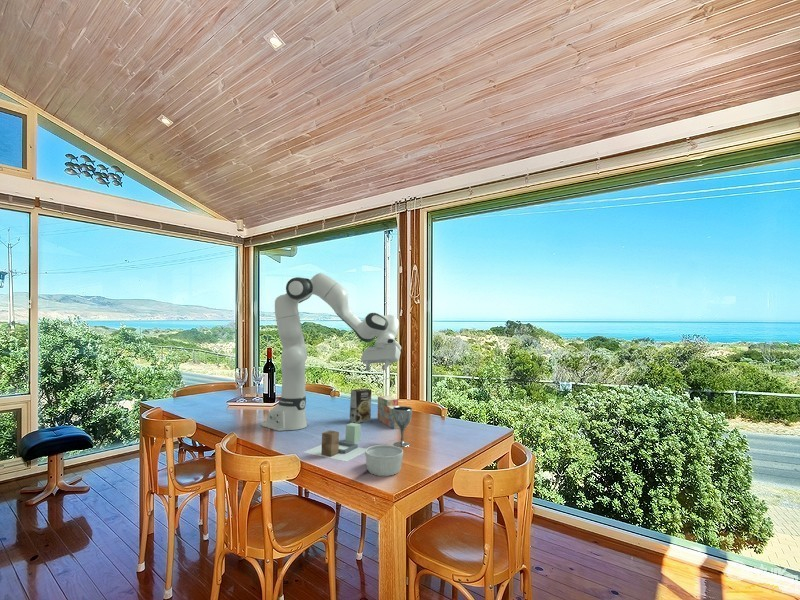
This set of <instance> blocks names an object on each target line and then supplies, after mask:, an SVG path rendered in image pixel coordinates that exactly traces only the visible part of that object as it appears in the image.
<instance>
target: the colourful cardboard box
mask: <svg viewBox="0 0 800 600" xmlns="http://www.w3.org/2000/svg"><path fill="white" fill-rule="evenodd" d="M398 406H399V399H398V398H396V397H393V396H391V395H378V396H377V420H378V419H379V420H378V421H380V422H381V421H382V422H381V423H383V422H384V423H383V424H385V425H387V426H388V425H389V427H390V428H392V429H395V430H397V429H396V428H398V429H400V428H399V427H398V425H397V424H396V423H395V421H394V416H393V408H394V407H398Z"/></svg>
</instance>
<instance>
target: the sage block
mask: <svg viewBox="0 0 800 600" xmlns="http://www.w3.org/2000/svg"><path fill="white" fill-rule="evenodd" d="M361 424H362V423H353V422H350V423H348V424H346V425H345V439H344V442H348V443H354V444H357V443H359V442H361V435H362V433H361V432H362V431H361V429H362V428H361V427H362V426H361Z"/></svg>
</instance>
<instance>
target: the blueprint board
mask: <svg viewBox="0 0 800 600" xmlns="http://www.w3.org/2000/svg"><path fill="white" fill-rule="evenodd" d="M366 449H367V448H365V447H364V448H363V447H360V446H358V444H357V443H350V442H345V441H342V440H341V441H340V440H339V450H338V454H336V455H334V456H332V457H329V456H325V455H321V451H322V444H320V445H317V446H315V447H313V448H312V447H311V448H310V449H307V450H305V451H302V453H305V454H308V455H313V456H318V457H323V458H328V459H332V460H337V461H341V462H342V461H343V462H349V461H351V460H353V459H355V458H357V457H359V456H361V455H362V454H365V450H366Z"/></svg>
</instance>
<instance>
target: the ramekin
mask: <svg viewBox="0 0 800 600" xmlns="http://www.w3.org/2000/svg"><path fill="white" fill-rule="evenodd" d="M365 449H366V450H365V452H364V455H365V463H366V464H365V465H366V469H367V471H368V473H370V474H371V475H373V474H374V475H373V476H376V475H378V476H377V477H390V476H389V475H392V476H395V475H397V474H398V473H399V472H401V468H402V464H403V456H404V450H403V448H402V447H397V446H394V444H392V445H391V444H375V445H371V446H369V447H367V448H365ZM394 474H395V475H394Z"/></svg>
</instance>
